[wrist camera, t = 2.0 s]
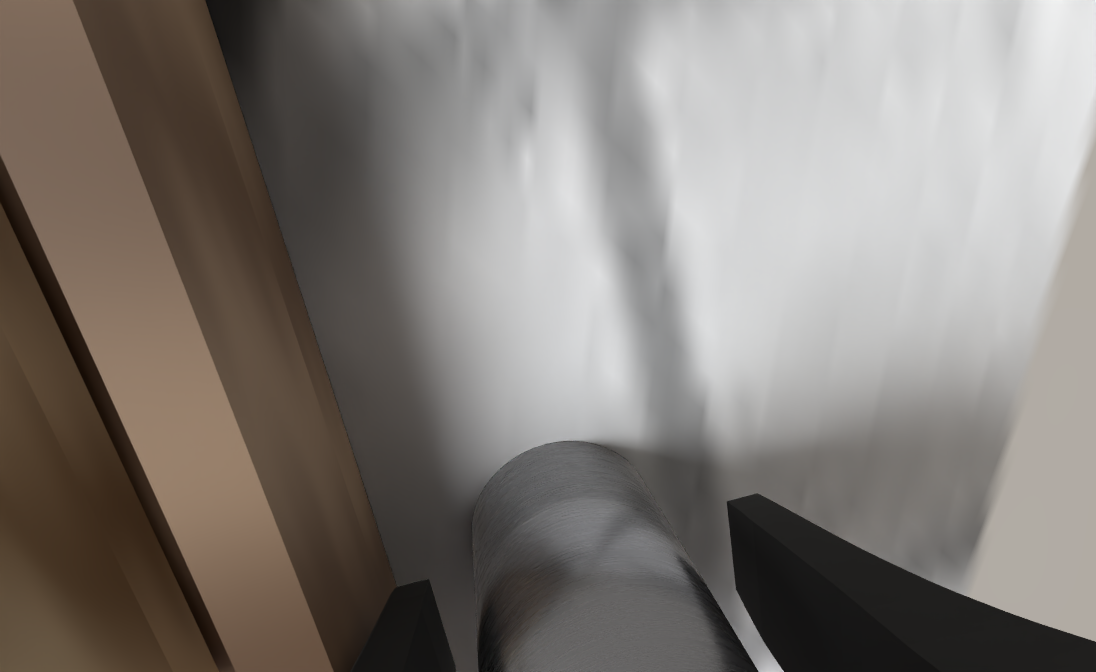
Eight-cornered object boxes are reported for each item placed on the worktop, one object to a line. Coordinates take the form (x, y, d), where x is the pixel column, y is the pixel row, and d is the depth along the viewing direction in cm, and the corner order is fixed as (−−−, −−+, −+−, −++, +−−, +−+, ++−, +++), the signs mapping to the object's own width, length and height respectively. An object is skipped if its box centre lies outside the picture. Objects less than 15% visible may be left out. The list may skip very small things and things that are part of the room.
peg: (661, 574, 14) (810, 868, 8) (493, 620, 13) (523, 963, 7) (637, 421, 12) (794, 639, 7) (452, 467, 12) (449, 739, 6)
